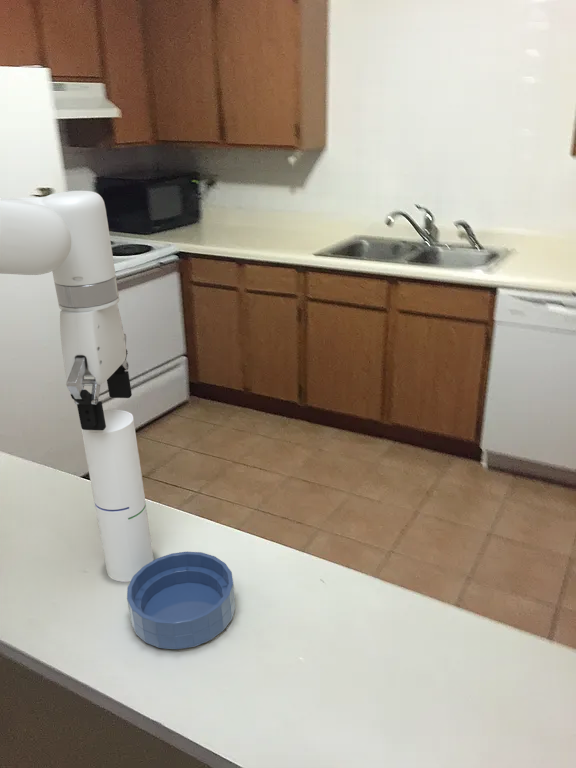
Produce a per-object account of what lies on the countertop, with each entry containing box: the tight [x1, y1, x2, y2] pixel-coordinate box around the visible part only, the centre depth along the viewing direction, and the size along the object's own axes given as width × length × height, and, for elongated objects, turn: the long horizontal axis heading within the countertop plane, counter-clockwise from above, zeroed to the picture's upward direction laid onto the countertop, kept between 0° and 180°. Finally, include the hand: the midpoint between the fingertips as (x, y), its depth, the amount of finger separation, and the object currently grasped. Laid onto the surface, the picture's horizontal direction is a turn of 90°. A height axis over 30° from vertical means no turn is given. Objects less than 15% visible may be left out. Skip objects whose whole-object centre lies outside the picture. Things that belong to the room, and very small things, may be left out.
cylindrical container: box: [80, 409, 155, 583], centre depth 97 cm, size 7×7×25 cm
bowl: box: [126, 551, 236, 650], centre depth 92 cm, size 14×14×5 cm
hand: (108, 412), depth 92 cm, fingers open, 9 cm apart
